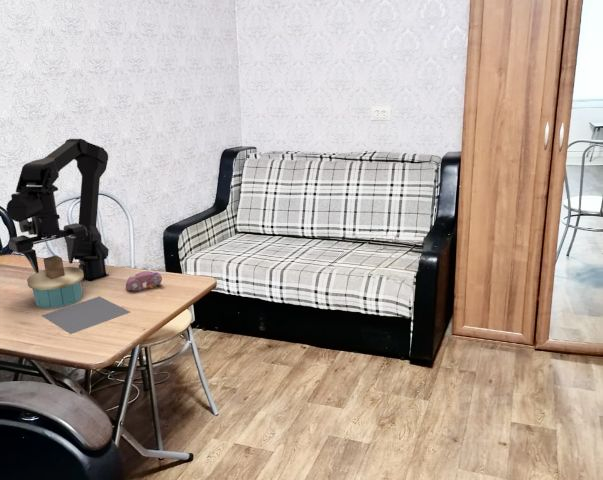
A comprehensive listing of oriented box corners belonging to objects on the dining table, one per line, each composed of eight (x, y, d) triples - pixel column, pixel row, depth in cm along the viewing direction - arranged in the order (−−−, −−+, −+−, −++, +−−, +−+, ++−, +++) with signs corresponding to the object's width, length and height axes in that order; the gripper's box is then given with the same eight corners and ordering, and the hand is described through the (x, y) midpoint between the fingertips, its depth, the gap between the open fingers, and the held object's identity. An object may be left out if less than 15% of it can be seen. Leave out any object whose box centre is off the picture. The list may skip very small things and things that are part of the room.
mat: (99, 298, 159) (99, 296, 159) (130, 313, 148) (130, 311, 148) (41, 317, 148) (41, 315, 148) (70, 335, 137) (70, 333, 137)
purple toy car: (128, 299, 162) (128, 281, 157) (124, 287, 164) (124, 270, 160) (163, 292, 166) (164, 275, 161) (159, 280, 169) (159, 263, 164)
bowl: (70, 288, 166) (67, 269, 164) (90, 299, 158) (87, 278, 156) (28, 301, 158) (24, 281, 156) (47, 313, 150) (44, 291, 148)
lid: (69, 267, 166) (65, 246, 164) (93, 278, 156) (90, 256, 155) (19, 281, 156) (15, 259, 154) (41, 294, 147) (37, 271, 145)
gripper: (65, 200, 162) (73, 252, 167) (-5, 214, 149) (6, 270, 154) (84, 205, 155) (92, 261, 160) (12, 221, 142) (23, 280, 147)
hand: (54, 267), depth 155 cm, fingers open, 9 cm apart
